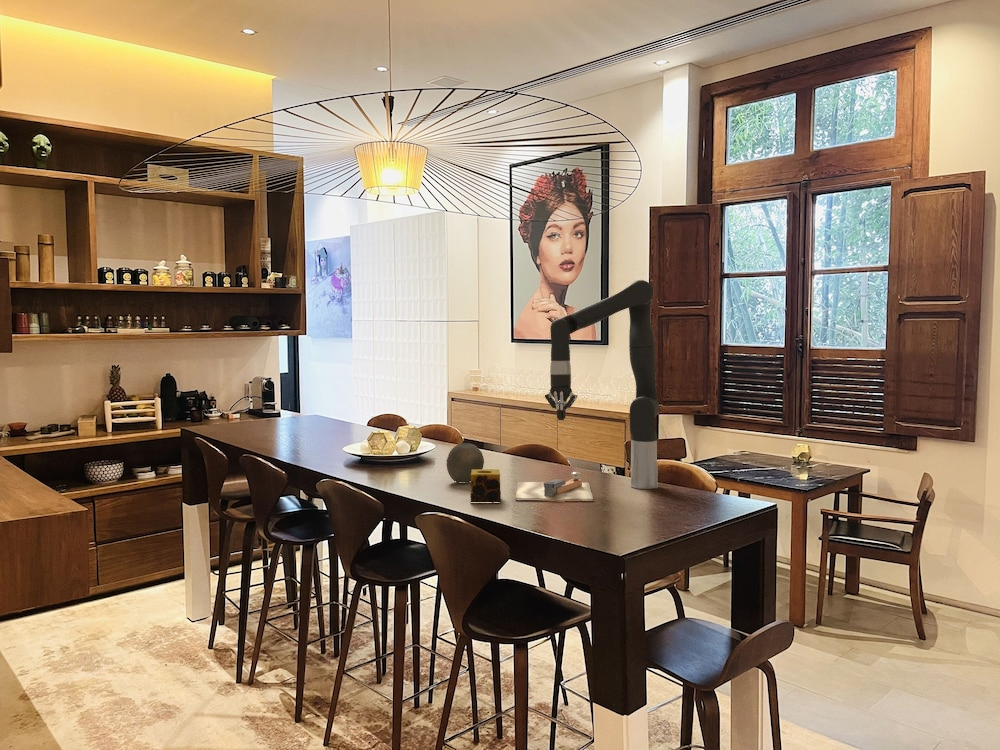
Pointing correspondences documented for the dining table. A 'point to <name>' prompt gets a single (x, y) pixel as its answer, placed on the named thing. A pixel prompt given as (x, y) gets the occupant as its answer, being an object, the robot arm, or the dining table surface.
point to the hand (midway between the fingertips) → (561, 420)
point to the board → (537, 492)
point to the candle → (485, 485)
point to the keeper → (552, 487)
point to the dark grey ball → (464, 461)
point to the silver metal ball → (575, 475)
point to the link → (569, 485)
